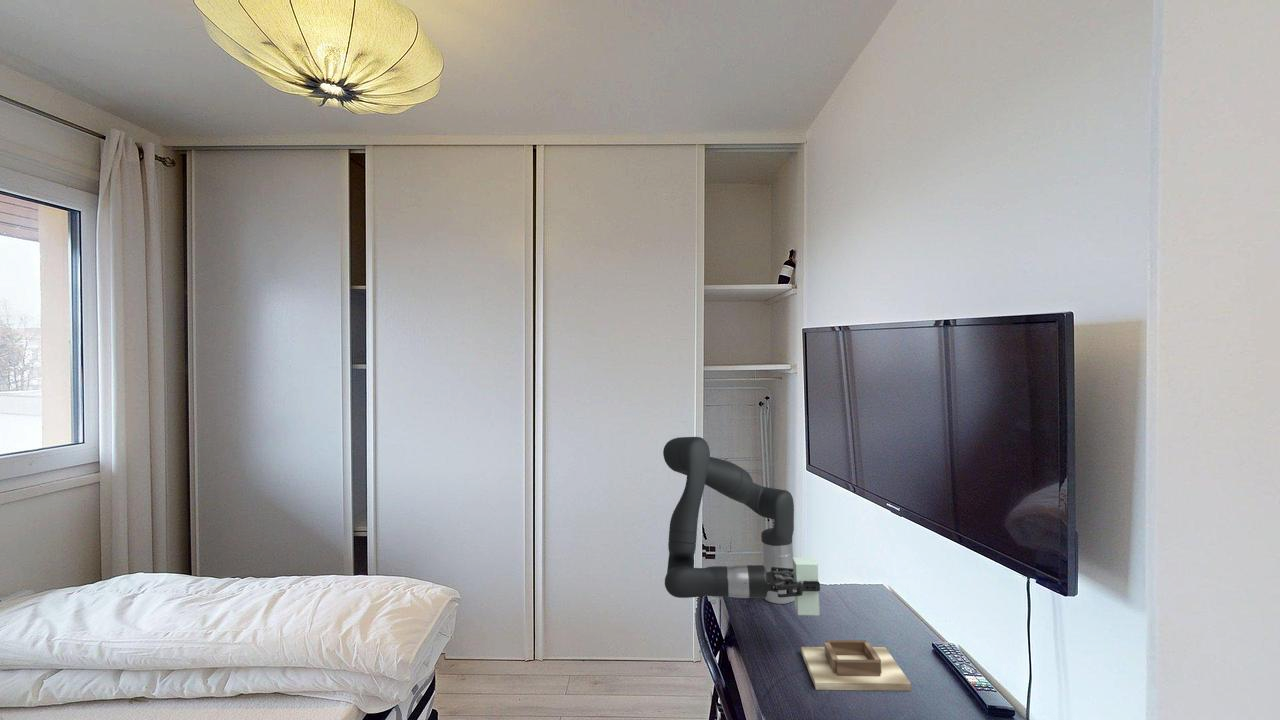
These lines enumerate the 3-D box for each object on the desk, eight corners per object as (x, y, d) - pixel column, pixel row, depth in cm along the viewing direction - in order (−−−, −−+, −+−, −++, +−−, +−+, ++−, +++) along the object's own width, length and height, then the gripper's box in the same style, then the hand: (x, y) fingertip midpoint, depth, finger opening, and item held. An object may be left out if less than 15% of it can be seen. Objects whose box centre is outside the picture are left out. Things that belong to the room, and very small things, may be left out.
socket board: (801, 653, 138) (800, 634, 138) (885, 653, 136) (884, 634, 136) (815, 689, 122) (814, 668, 122) (911, 690, 120) (910, 669, 121)
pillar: (794, 606, 140) (792, 557, 140) (815, 606, 139) (813, 557, 139) (798, 615, 135) (796, 564, 135) (819, 615, 134) (817, 564, 134)
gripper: (748, 576, 131) (823, 576, 130) (743, 556, 146) (810, 556, 144) (749, 609, 131) (824, 609, 129) (744, 585, 145) (812, 586, 144)
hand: (816, 581), depth 137 cm, fingers closed on pillar, 5 cm apart
